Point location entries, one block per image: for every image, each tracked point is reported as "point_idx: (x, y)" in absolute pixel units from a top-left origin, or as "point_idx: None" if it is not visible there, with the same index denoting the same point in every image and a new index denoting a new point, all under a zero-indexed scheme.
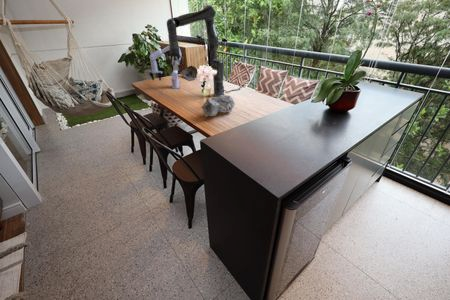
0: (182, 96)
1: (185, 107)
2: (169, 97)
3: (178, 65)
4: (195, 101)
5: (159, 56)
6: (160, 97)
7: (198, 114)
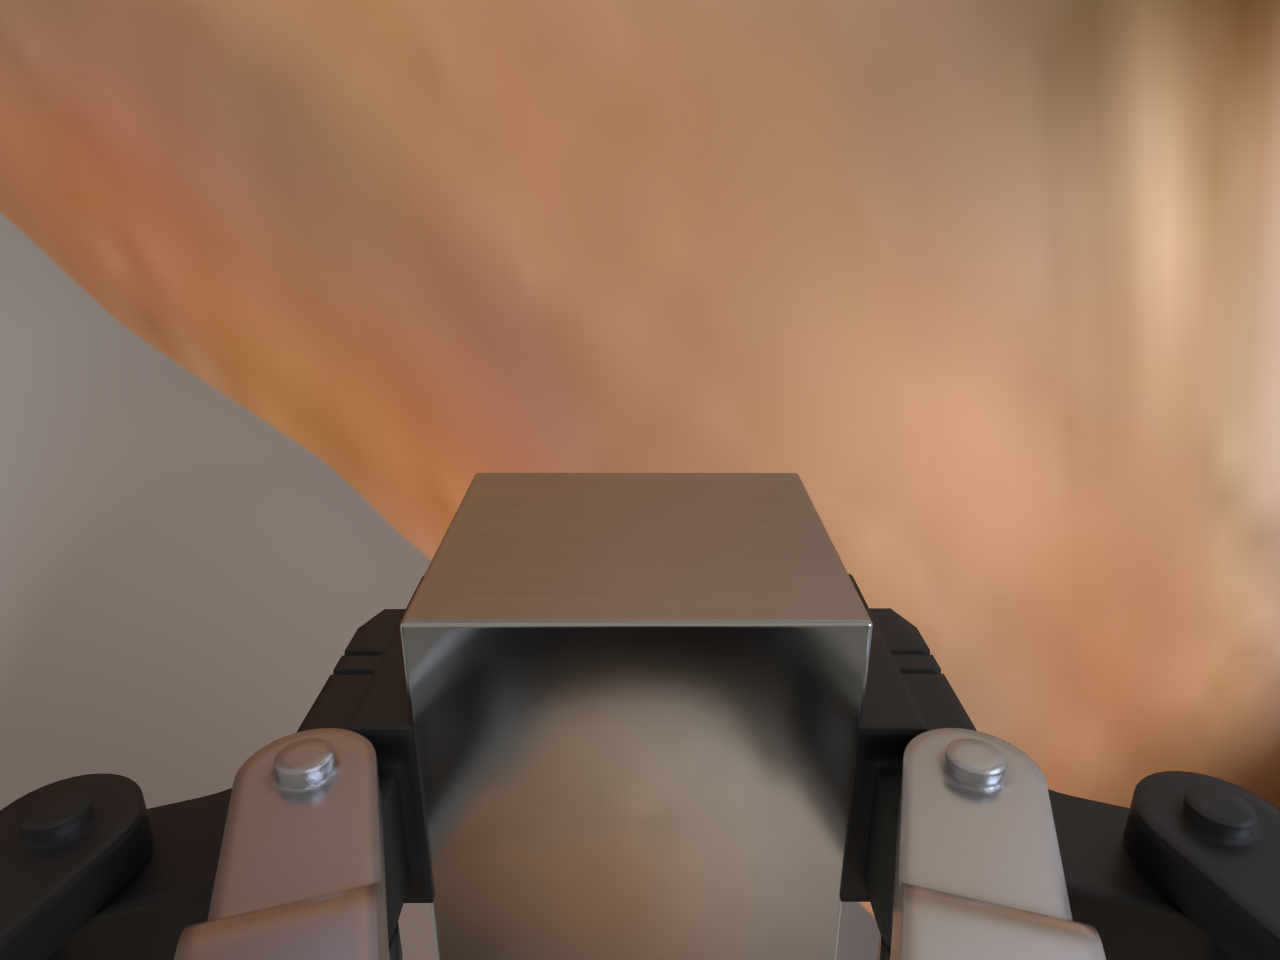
0: (590, 32)
1: None
2: (312, 151)
3: (835, 876)
4: (955, 323)
5: None
6: (109, 180)
7: None
